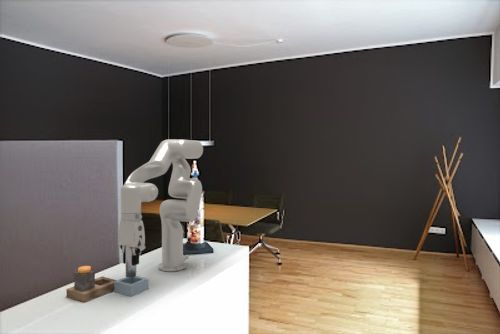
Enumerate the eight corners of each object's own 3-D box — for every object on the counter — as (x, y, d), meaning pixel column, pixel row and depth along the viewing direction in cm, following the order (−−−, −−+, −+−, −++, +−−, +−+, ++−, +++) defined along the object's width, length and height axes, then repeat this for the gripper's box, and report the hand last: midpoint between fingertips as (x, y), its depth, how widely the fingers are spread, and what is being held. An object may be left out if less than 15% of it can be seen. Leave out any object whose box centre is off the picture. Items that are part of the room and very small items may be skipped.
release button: (85, 284, 145) (85, 265, 145) (93, 286, 143) (93, 267, 143) (75, 288, 142) (75, 268, 141) (83, 290, 139) (83, 270, 139)
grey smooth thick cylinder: (131, 273, 151) (131, 243, 150) (138, 275, 149) (138, 244, 148) (123, 276, 147) (123, 245, 147) (130, 278, 145) (130, 246, 145)
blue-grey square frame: (132, 284, 155) (132, 274, 155) (148, 288, 150) (148, 278, 150) (114, 291, 147) (114, 281, 147) (131, 296, 143) (130, 286, 142)
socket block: (102, 283, 156) (102, 261, 155) (119, 288, 151) (119, 265, 150) (66, 296, 142) (66, 273, 141) (84, 302, 137) (83, 277, 136)
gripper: (154, 217, 146) (154, 264, 147) (123, 213, 154) (123, 258, 155) (139, 220, 140) (139, 270, 141) (108, 216, 148) (108, 262, 149)
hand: (131, 263), depth 148 cm, fingers closed on grey smooth thick cylinder, 4 cm apart
